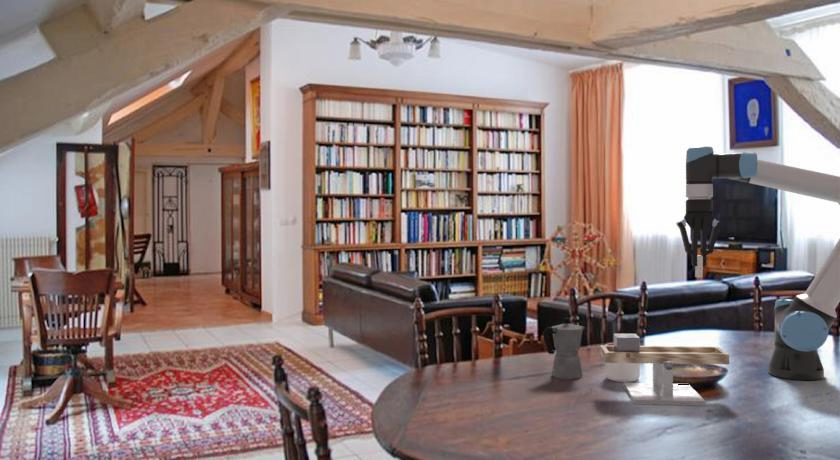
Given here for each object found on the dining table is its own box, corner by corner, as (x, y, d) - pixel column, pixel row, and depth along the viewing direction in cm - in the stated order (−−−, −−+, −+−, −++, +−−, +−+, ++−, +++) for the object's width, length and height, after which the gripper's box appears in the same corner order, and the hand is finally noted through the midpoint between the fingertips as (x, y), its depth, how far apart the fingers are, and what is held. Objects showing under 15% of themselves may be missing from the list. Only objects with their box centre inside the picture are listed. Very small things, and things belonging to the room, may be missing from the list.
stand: (688, 388, 204) (688, 349, 203) (705, 405, 186) (705, 363, 186) (623, 386, 206) (623, 348, 206) (634, 404, 188) (634, 362, 188)
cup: (641, 384, 209) (641, 350, 209) (606, 382, 211) (606, 349, 211) (637, 375, 219) (637, 343, 218) (604, 374, 221) (604, 342, 220)
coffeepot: (574, 370, 227) (574, 313, 226) (594, 376, 218) (594, 318, 217) (534, 376, 220) (534, 317, 219) (552, 382, 211) (552, 322, 211)
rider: (635, 351, 199) (635, 333, 199) (639, 356, 193) (639, 337, 193) (613, 351, 200) (613, 333, 200) (616, 355, 194) (616, 337, 194)
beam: (718, 359, 199) (718, 346, 199) (729, 367, 188) (729, 354, 188) (600, 357, 203) (600, 345, 203) (605, 365, 192) (605, 353, 192)
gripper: (718, 198, 217) (717, 276, 218) (673, 198, 218) (673, 275, 219) (725, 198, 209) (725, 278, 210) (679, 198, 211) (679, 278, 212)
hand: (698, 277), depth 215 cm, fingers closed
